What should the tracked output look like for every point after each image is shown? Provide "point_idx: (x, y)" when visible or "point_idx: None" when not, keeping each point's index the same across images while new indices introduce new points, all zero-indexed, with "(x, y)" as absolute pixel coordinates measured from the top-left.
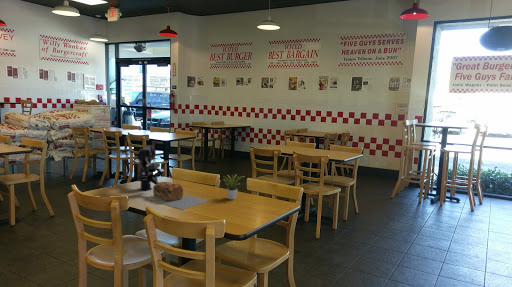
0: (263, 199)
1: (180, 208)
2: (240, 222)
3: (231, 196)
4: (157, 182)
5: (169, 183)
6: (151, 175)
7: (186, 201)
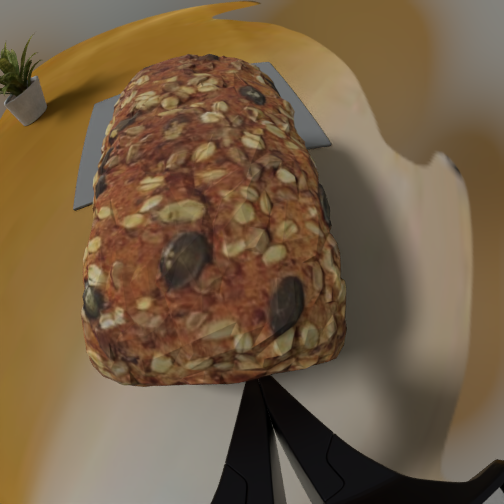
0: None
1: (270, 68)
2: (204, 12)
3: (43, 96)
4: (252, 398)
5: (191, 106)
6: (451, 484)
7: None
